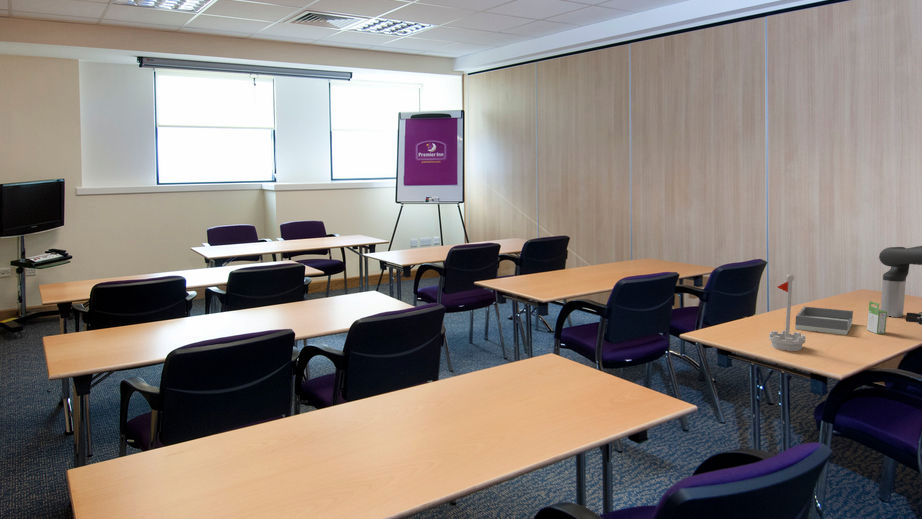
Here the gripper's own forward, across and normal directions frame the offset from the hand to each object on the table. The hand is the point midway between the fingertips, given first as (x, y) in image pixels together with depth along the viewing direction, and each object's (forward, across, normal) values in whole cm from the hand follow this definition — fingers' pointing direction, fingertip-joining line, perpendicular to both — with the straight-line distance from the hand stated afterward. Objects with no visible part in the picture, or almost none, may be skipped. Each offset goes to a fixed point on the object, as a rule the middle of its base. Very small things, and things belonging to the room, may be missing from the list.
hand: (906, 316), depth 272 cm
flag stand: (+38, +46, +8) cm, 60 cm away
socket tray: (+30, 0, +8) cm, 31 cm away
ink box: (+10, 0, +8) cm, 13 cm away
